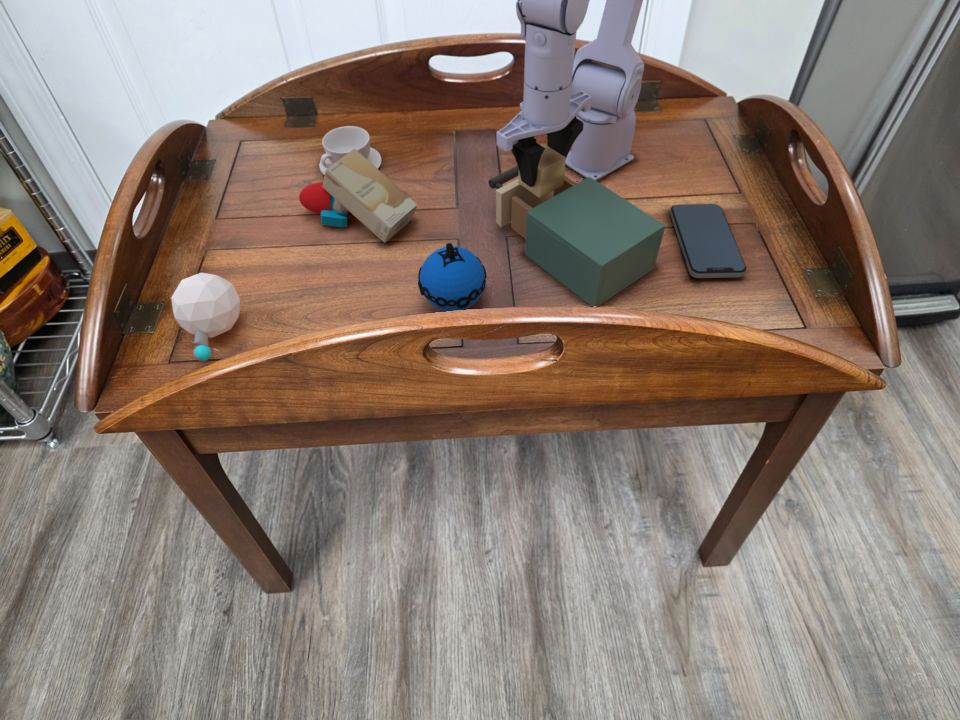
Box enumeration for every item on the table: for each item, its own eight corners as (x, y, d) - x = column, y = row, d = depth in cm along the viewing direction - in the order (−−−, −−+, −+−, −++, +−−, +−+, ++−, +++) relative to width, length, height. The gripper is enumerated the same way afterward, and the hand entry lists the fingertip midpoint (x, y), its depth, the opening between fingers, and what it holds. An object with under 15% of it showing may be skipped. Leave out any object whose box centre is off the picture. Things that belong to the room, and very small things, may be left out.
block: (541, 170, 91) (543, 143, 88) (563, 185, 89) (566, 157, 85) (518, 183, 89) (518, 155, 86) (539, 198, 87) (541, 170, 84)
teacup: (355, 139, 109) (350, 114, 106) (394, 163, 105) (390, 137, 101) (307, 166, 105) (300, 140, 101) (345, 191, 100) (340, 166, 97)
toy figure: (400, 198, 101) (301, 193, 99) (402, 173, 98) (299, 167, 95) (401, 233, 97) (298, 229, 94) (403, 208, 93) (296, 203, 90)
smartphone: (720, 202, 95) (749, 270, 85) (717, 211, 96) (745, 280, 87) (669, 203, 95) (692, 272, 85) (666, 212, 96) (689, 281, 87)
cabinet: (524, 254, 91) (526, 211, 85) (583, 219, 95) (589, 176, 89) (594, 309, 84) (601, 266, 78) (654, 268, 89) (665, 225, 83)
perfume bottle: (254, 276, 84) (254, 354, 78) (214, 306, 87) (211, 382, 81) (199, 249, 78) (195, 330, 72) (159, 282, 82) (152, 362, 75)
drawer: (477, 208, 96) (476, 175, 91) (529, 180, 100) (530, 147, 95) (555, 268, 88) (558, 235, 83) (608, 235, 92) (614, 202, 87)
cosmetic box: (391, 229, 89) (323, 170, 89) (385, 244, 93) (319, 188, 92) (419, 202, 92) (354, 146, 92) (412, 219, 96) (349, 164, 96)
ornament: (496, 315, 84) (496, 258, 76) (433, 334, 82) (426, 277, 74) (473, 272, 89) (471, 214, 81) (413, 289, 87) (405, 231, 79)
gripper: (568, 48, 82) (560, 142, 93) (479, 87, 77) (481, 183, 87) (608, 69, 79) (595, 164, 89) (519, 111, 73) (516, 208, 84)
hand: (541, 175), depth 88 cm, fingers closed on block, 4 cm apart
